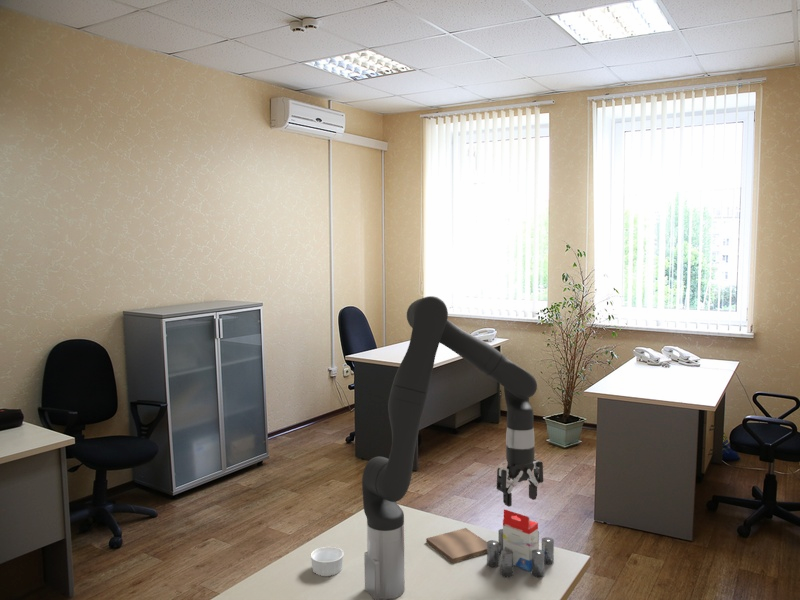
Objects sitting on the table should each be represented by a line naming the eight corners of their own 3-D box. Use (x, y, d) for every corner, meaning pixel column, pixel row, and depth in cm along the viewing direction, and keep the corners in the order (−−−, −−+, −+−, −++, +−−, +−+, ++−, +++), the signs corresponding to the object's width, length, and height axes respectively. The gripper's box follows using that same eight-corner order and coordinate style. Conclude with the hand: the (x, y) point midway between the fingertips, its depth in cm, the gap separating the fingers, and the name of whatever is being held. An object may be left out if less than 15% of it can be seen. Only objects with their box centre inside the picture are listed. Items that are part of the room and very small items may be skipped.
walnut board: (452, 563, 165) (452, 558, 165) (426, 542, 177) (426, 538, 177) (494, 550, 172) (494, 546, 171) (465, 531, 184) (465, 527, 184)
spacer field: (516, 586, 153) (516, 563, 153) (475, 557, 168) (475, 536, 168) (566, 568, 161) (566, 547, 161) (524, 542, 176) (524, 522, 176)
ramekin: (326, 558, 168) (326, 543, 168) (350, 567, 163) (350, 551, 163) (303, 571, 161) (303, 555, 161) (328, 581, 156) (328, 565, 156)
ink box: (538, 564, 164) (539, 512, 163) (529, 571, 160) (529, 517, 159) (511, 554, 169) (512, 503, 168) (502, 561, 166) (502, 508, 165)
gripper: (531, 435, 169) (531, 492, 170) (490, 444, 162) (490, 502, 164) (549, 442, 163) (549, 501, 164) (508, 451, 156) (508, 513, 157)
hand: (520, 502), depth 164 cm, fingers open, 8 cm apart
